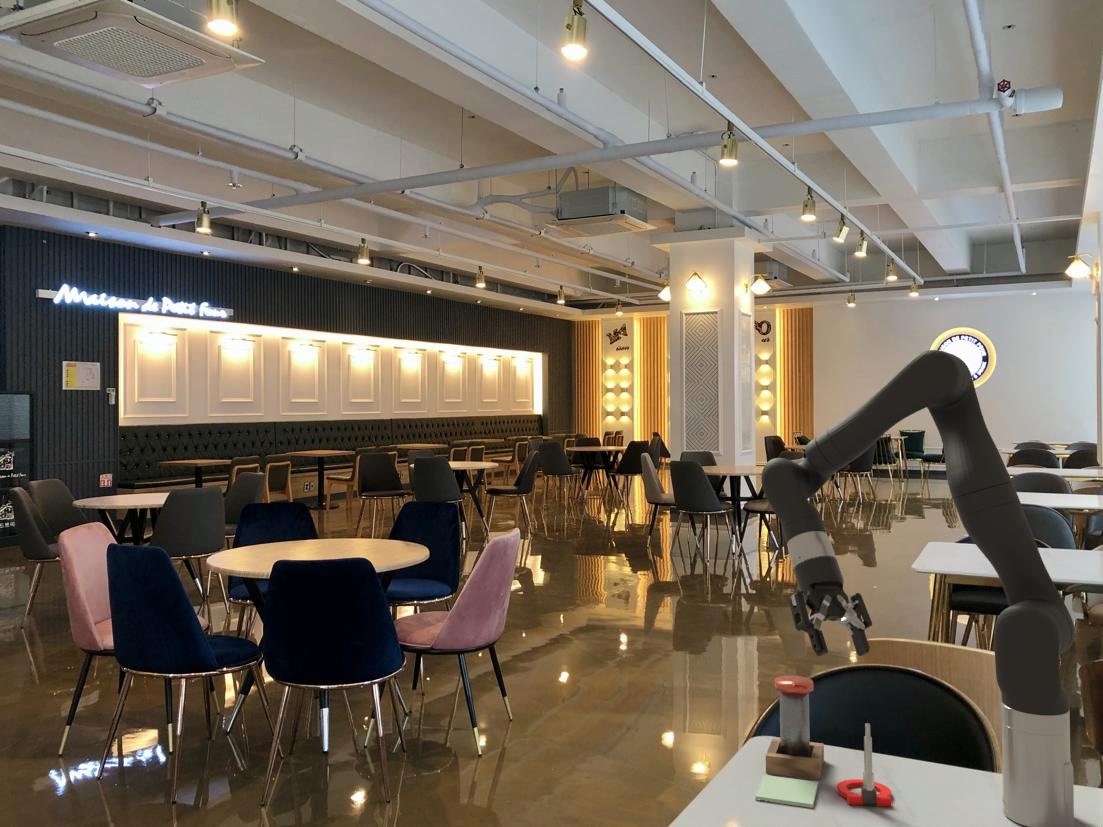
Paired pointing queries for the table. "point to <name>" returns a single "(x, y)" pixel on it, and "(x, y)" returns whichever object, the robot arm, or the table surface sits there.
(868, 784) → the tow hook
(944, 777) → the table surface
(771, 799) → the sage mat
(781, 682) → the steel peg
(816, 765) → the brown square frame
